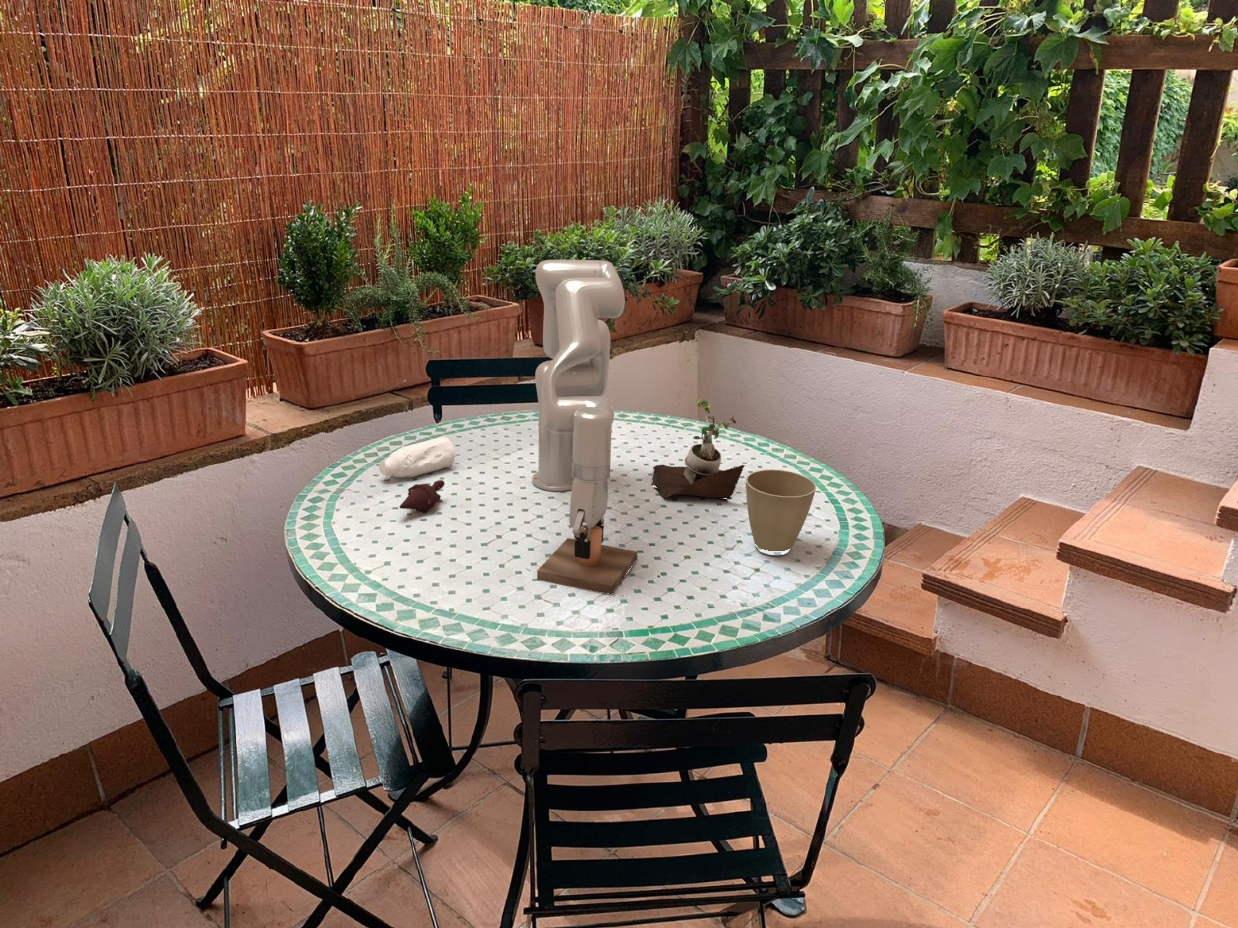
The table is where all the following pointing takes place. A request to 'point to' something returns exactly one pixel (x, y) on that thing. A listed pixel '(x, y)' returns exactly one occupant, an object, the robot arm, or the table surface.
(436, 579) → the table surface
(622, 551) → the walnut board
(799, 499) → the plant pot
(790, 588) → the table surface
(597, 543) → the terracotta cylinder
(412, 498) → the dark brown tapered piece
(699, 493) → the potted plant
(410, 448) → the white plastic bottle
